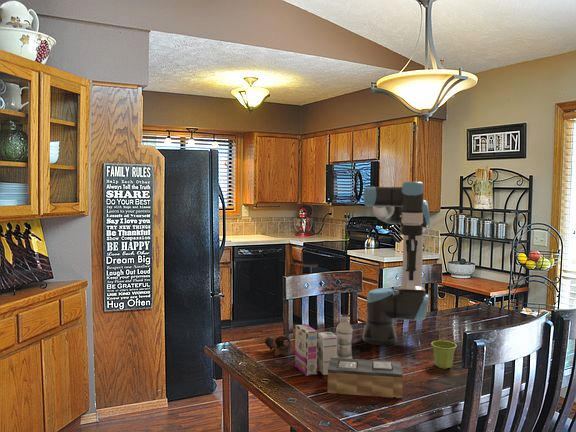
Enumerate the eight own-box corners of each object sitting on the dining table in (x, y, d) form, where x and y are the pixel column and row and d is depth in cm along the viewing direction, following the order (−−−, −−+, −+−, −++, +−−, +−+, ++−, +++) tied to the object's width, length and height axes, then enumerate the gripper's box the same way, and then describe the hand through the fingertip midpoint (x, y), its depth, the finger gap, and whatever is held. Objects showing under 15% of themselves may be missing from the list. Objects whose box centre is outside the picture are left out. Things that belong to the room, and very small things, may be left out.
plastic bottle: (342, 371, 189) (342, 319, 188) (332, 365, 195) (332, 314, 194) (356, 368, 192) (356, 317, 191) (346, 363, 198) (346, 313, 197)
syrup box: (337, 373, 187) (337, 335, 186) (322, 375, 185) (322, 336, 184) (331, 368, 192) (332, 331, 191) (317, 370, 191) (317, 332, 190)
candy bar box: (318, 374, 186) (318, 331, 185) (306, 376, 184) (306, 332, 183) (306, 364, 196) (306, 323, 195) (294, 366, 194) (294, 324, 193)
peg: (373, 382, 176) (373, 361, 176) (390, 383, 175) (390, 362, 175) (373, 389, 170) (373, 367, 170) (391, 390, 169) (391, 368, 169)
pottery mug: (293, 350, 215) (295, 337, 210) (286, 366, 207) (288, 353, 202) (267, 341, 217) (268, 327, 213) (258, 357, 209) (260, 343, 205)
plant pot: (455, 371, 189) (456, 349, 189) (429, 368, 193) (430, 346, 192) (456, 363, 198) (457, 342, 198) (431, 360, 201) (432, 339, 201)
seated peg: (339, 381, 178) (339, 361, 178) (356, 382, 177) (356, 362, 177) (338, 388, 172) (338, 367, 172) (355, 389, 171) (356, 368, 171)
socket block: (330, 379, 182) (330, 357, 181) (400, 383, 178) (400, 361, 177) (327, 392, 170) (327, 369, 169) (402, 398, 166) (402, 374, 165)
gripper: (400, 222, 189) (399, 284, 191) (402, 225, 177) (401, 291, 178) (420, 223, 188) (419, 285, 190) (424, 225, 175) (423, 292, 177)
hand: (410, 288), depth 184 cm, fingers closed
